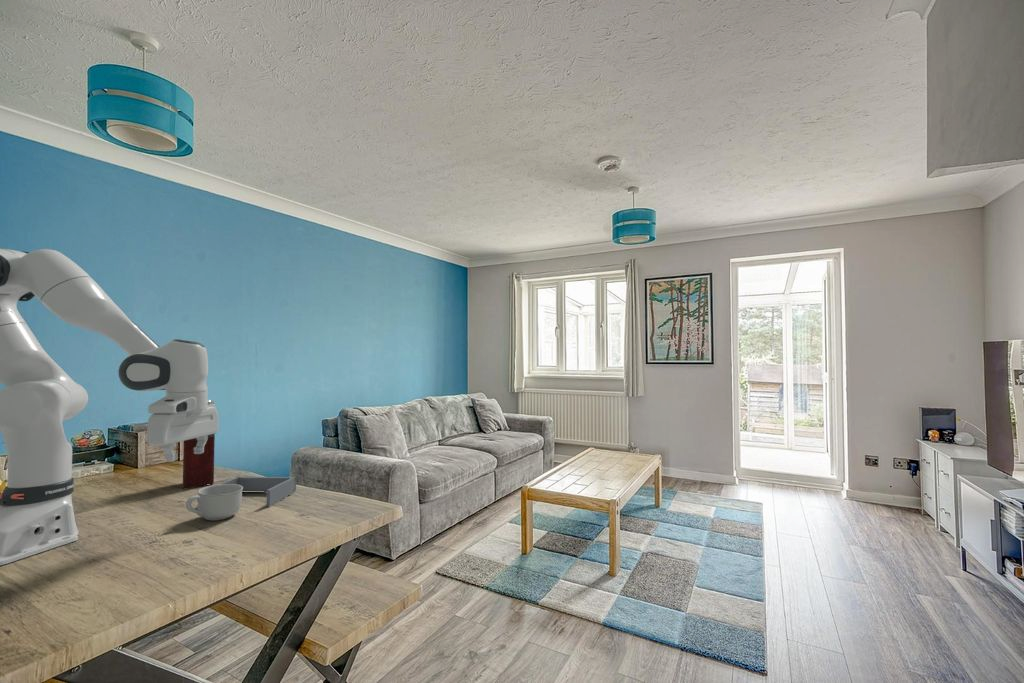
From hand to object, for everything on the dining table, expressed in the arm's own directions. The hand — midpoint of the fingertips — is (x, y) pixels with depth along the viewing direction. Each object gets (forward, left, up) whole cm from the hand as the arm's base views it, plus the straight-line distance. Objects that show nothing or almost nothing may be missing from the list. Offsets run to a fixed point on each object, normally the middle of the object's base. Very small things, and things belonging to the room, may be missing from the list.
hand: (185, 457), depth 117 cm
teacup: (+11, 0, -19) cm, 22 cm away
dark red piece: (+46, +31, -19) cm, 59 cm away
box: (+28, 0, -19) cm, 34 cm away
